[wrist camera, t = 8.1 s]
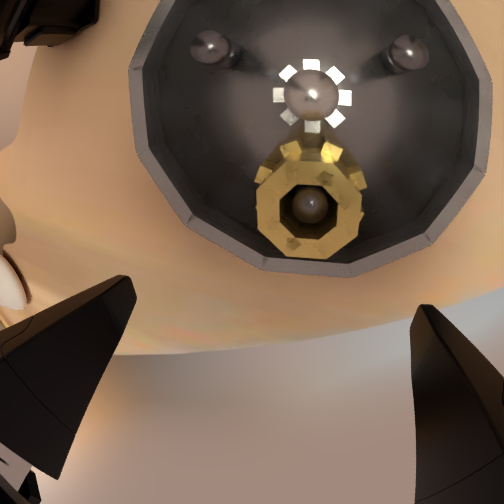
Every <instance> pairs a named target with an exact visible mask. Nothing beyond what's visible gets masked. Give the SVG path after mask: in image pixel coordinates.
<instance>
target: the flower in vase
mask: <svg viewBox="0 0 504 504" xmlns="http://www.w3.org/2000/svg"><path fill="white" fill-rule="evenodd" d="M26 302H27V299H26V295H25V291H24V288H23V286H22V283H21V281H20V279H19V277H18V275H17V274H16V272H15V270H14V269H13V267H12V266H11V265H10V263H9V262H8V261H7V260H6V259H5V258H4V257H3V256H2V255H1V254H0V306H3V307H6V308H10V309H13V310H22V309H24V308H25V307H26Z"/></svg>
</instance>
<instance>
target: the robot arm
mask: <svg viewBox="0 0 504 504" xmlns="http://www.w3.org/2000/svg"><path fill="white" fill-rule="evenodd" d="M98 8H99V0H0V60H2V59H5V58H8V57H9V54H10V52H11V51H10V49H11V47H12V44H13V42H23V41H24V45H25V46H39V45H47V46H48V47H53V46H55V45H59V44H61V43H62V42H64V41H66V40H68V39H69V38H71V37H73V36H75V35H76V34H77V33H78V32H79V31H81V30H83V29H85V28H87V27H89V26H91V25H93V24H95V23H96V21H97V20H98ZM92 18H93V19H92ZM91 20H92V21H91ZM136 300H137V296H136V292H135V289H134V286H133V283H132V280H131V278H130V277H129V276H125V275H117V276H115V277H112V278H110V279H108V280H106V281H104V282H102V283H99V284H97V285H95V286H93V287H91V288H89V289H87V290H84V291H82V292H80V293H78V294H76V295H74V296H72V297H70V298H68V299H66V300H63V301H61V302H59V303H57V304H55V305H53V306H51V307H49V308H47V309H45V310H43V311H41V312H39V313H37V314H35V316H34V315H33V316H31V317H29V318H27V319H25V320H23V321H21V322H19V323H17V324H15V325H12V326H10V327H8V328H6V329H4V330H1V331H0V504H40V502H41V497H40V493H39V489H38V485H37V480H36V475H35V473H34V472H33V471H32V470H31V467H32V465H33V466H34V467H36V468H37V469H39V470H40V471H42V472H44V473H45V474H47V475H49V476H51V477H53V478H54V479H56V480H58V479H59V477H60V474H61V472H62V469H63V466H64V463H65V461H66V458H67V456H68V453H69V450H70V448H71V445H72V443H73V440H74V438H75V434H76V433H77V430H78V428H79V426H80V423H81V421H82V418H83V416H84V414H85V412H86V410H87V407H88V405H89V403H90V401H91V399H92V396H93V394H94V392H95V390H96V388H97V386H98V384H99V381H100V379H101V377H102V375H103V373H104V371H105V369H106V367H107V365H108V363H109V361H110V359H111V357H112V355H113V353H114V351H115V349H116V347H117V345H118V343H119V341H120V339H121V337H122V335H123V333H124V330H125V328H126V325H127V323H128V320H129V318H130V315H131V313H132V311H133V308H134V306H135V304H136ZM410 345H411V377H412V389H413V398H414V411H415V425H416V426H415V427H416V488H415V503H414V504H504V377H503V376H502V375H501V374H500V373H499V372H498V370H497V369H496V368H495V367H494V366H493V365H492V364H491V363H490V362H489V361H488V360H487V359H486V358H485V356H484V355H483V354H482V353H481V352H480V351H479V350H478V349H477V348H476V347H475V346H474V345H473V344H472V343H471V342H470V341H469V340H468V339H467V338H466V337H465V336H464V335H463V334H462V333H461V332H460V331H459V330H458V329H457V328H456V327H455V326H454V325H453V324H452V323H451V322H450V321H449V320H448V319H447V318H446V317H445V316H444V315H443V314H442V313H441V312H440V311H439V310H437V309H436V308H435V307H434V306H433V305H430V304H421V305H419V306H418V308H417V311H416V313H415V316H414V318H413V321H412V323H411V326H410Z"/></svg>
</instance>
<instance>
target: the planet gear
mask: <svg viewBox="0 0 504 504" xmlns="http://www.w3.org/2000/svg"><path fill="white" fill-rule="evenodd" d="M280 149H281V151H282V154H283V156H284V157H283V158H282V159H281V160H280V161H279V162H278V163H277V164H274V163H272V162H270V161H267V160H265V161H264V162H263V163H262V164H261V165H260V168H259V170H258V173H257V175H256V178H255V181H254V182H257V183H259V184H260V185H259V187H258V188H257V190H256V195H257V205H256V206H255V207H256V209H257V218H258V230H259V231H260V232H261V233H262V234H264V235H265V236H266V237H267V238H268V239H269V240H270V241H271V242H272V243H273V244H274V245H275V246H276V247H277V248H278V249H279V250H280V251H281V252H283V253H284V254H285V255H286V256H289V257H302V258H316V259H327V258H329V257H330V256H331V255H333V254H334V253H335V252H337V251H338V250H339V249H341V248H342V247H343V246H345V245H346V244H347V243H349V242H350V241H351V240H353V239H354V238H355V237H357V235H358V228H359V222H360V220H361V219H362V217H363V215H364V210H363V208H362V205H361V201H362V195H361V192H360V190H361V189H365V188H367V185H366V182H365V179H364V176H363V173H362V170H361V169H360V167H359V165H355V166H352V167H348V168H347V167H346V166H345V165H344V164H343V163H342V162H341V161H340V159H339V157H340V155H341V153H342V151H343V149H342V147H341V145H339V144H337V143H335V142H333V141H331V140H329V139H327V138H325V139H324V141H323V144H322V146H321V148H303V145H302V143H301V141H300V138H299V137H297V138H294V139H291V140H289V141H286V142H283V143H282V144H281V145H280ZM296 184H304V185H322V186H323V187H324V188H325V189H326V191H327V192H328V193H329V194H330V195H331V196H332V197H333V198H334V199H333V200H331V201H330V202H329V203H328V204H327V206H328V209H327V213H326V215H325V216H324V218H323V219H322V220H320V221H318V222H316V223H305V222H302V221H300V220H299V219H298V218H297V217H296V216H295V215H294V213H293V210H292V203H293V200H292V199H291V198H290V197H289V196H288V192H289V191H290V190H291V189H292V188H293V187H294V186H295V185H296Z"/></svg>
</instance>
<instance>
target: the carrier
mask: <svg viewBox="0 0 504 504" xmlns="http://www.w3.org/2000/svg"><path fill="white" fill-rule="evenodd" d="M129 68H131V69H128V74H129V89H130V102H131V113H132V123H133V132H134V140H135V148H136V153H138V152H139V153H138V154H137V156H138V157H139V159H140V160H141V162H142V163H143V165H144V166H145V168H146V169H147V171H148V172H149V174H150V175H151V177H152V178H153V180H154V181H155V183H156V184H157V186H158V187H159V189H160V190H161V192H162V193H163V195H164V196H165V198H166V199H167V201H168V202H169V204H170V205H171V206H172V208H173V209H174V211H175V212H176V214H177V215H178V217H179V218H180V219H181V221H182V222H183V224H184V225H185V224H186V227H188V228H190V229H191V230H193V231H195V232H196V233H198V234H200V235H201V236H203V237H205V238H207V239H208V240H210V241H212V242H213V243H215V244H217V245H219V246H220V247H222V248H224V249H226V250H227V251H229V252H231V253H232V254H234V255H236V256H238V257H239V258H241V259H243V260H245V261H246V262H248V263H250V264H251V265H253V266H255V267H257V268H258V269H260V270H261V269H262V268H263V271H274V272H285V273H296V274H307V275H319V276H331V277H344V278H350V276H351V278H352V277H355V276H357V275H360V274H362V273H365V272H368V271H370V270H373V269H375V268H378V267H380V266H383V265H385V264H388V263H390V262H393V261H395V260H398V259H400V258H402V257H405V256H407V255H410V254H412V253H414V252H417V251H419V250H421V249H424V248H426V247H428V246H430V245H431V243H432V244H433V243H434V242H435V241H436V240H437V238H438V237H439V236H440V235H441V234H442V232H443V231H444V230H445V229H446V227H447V226H448V225H449V224H450V222H451V221H452V220H453V219H454V217H455V216H456V215H457V214H458V212H459V211H460V210H461V208H462V207H463V206H464V204H465V203H466V202H467V200H468V199H469V197H470V196H471V195H472V193H473V192H474V191H475V189H476V188H477V186H478V185H479V183H480V182H481V180H482V179H483V177H484V176H485V174H484V173H486V169H487V162H488V155H489V147H490V137H491V124H492V82H490V81H491V80H492V79H491V77H490V74H489V72H488V70H487V68H486V65H485V63H484V61H483V59H482V57H481V55H480V53H479V51H478V49H477V47H476V45H475V43H474V41H473V39H472V37H471V35H470V33H469V32H468V30H467V28H466V26H465V25H464V23H463V21H462V20H461V18H460V16H459V15H458V13H457V11H456V10H455V8H454V7H453V5H452V4H451V2H450V1H449V0H161V1H160V2H159V4H158V6H157V8H156V10H155V12H154V13H153V15H152V17H151V19H150V21H149V23H148V25H147V27H146V29H145V31H144V33H143V36H142V38H141V40H140V42H139V44H138V46H137V49H136V51H135V53H134V56H133V58H132V60H131V63H130V65H129ZM297 137H299V138H300V141H301V143H302V145H303V148H321V146H322V144H323V141H324V139H325V138H327V139H329V140H331V141H333V142H335V143H337V144H339V145H341V147H342V149H343V151H342V153H341V155H340V157H339V159H340V161H341V162H342V163H343V164H344V165H345V166H346V167H347V168H348V167H352V166H355V165H359V167H360V169H361V170H362V173H363V176H364V179H365V182H366V185H367V188H365V189H361V190H360V192H361V195H362V201H361V205H362V208H363V210H364V215H363V217H362V219H361V220H360V222H359V228H358V235H357V237H355V238H354V239H353V240H351V241H350V242H349V243H347V244H346V245H345V246H343V247H342V248H341V249H339V250H338V251H337V252H335V253H334V254H333V255H331V256H330V257H329V258H327V259H316V258H302V257H289V256H286V255H285V254H284V253H283V252H281V251H280V250H279V249H278V248H277V247H276V246H275V245H274V244H273V243H272V242H271V241H270V240H269V239H268V238H267V237H266V236H265V235H264V234H262V233H261V232H260V231H259V230H258V218H257V209H256V207H255V206H256V205H257V195H256V190H257V188H258V187H259V185H260V184H259V183H257V182H254V181H255V178H256V175H257V173H258V170H259V168H260V165H261V164H262V163H263V162H264V161H265V160H267V161H270V162H272V163H274V164H277V163H278V162H279V161H280V160H281V159H282V158H283V157H284V156H283V154H282V151H281V149H280V145H281V144H282V143H283V142H286V141H289V140H291V139H294V138H297ZM288 196H289V197H290V198H291V199H292V200H293V203H292V210H293V213H294V215H295V216H296V217H297V218H298V219H299V220H300V221H302V222H305V223H316V222H318V221H320V220H322V219H323V218H324V216H325V215H326V213H327V209H328V206H327V204H328V203H329V202H330V201H331V200H333V199H334V198H333V197H332V196H331V195H330V194H329V193H328V192H327V191H326V189H325V188H324V187H323V186H322V185H304V184H296V185H295V186H294V187H293V188H292V189H291V190H290V191H289V192H288Z"/></svg>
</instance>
